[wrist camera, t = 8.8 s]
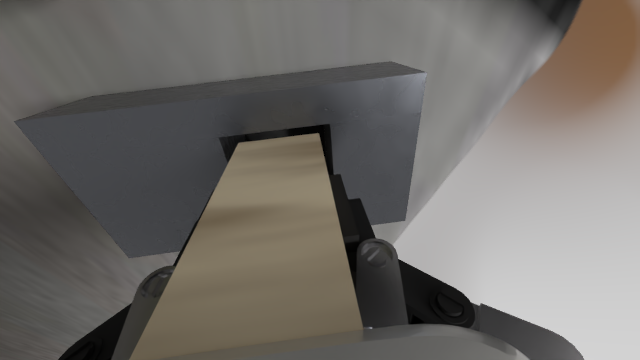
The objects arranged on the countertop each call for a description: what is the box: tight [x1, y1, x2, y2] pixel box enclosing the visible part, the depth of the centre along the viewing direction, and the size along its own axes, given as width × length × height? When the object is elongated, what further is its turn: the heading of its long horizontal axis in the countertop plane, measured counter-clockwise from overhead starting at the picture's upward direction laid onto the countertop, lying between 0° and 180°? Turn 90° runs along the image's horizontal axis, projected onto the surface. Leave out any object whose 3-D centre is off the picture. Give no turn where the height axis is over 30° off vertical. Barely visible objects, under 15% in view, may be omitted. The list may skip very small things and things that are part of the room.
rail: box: [14, 62, 427, 258], centre depth 16 cm, size 10×20×5 cm, turn 95°
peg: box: [129, 133, 364, 360], centre depth 9 cm, size 4×4×12 cm
